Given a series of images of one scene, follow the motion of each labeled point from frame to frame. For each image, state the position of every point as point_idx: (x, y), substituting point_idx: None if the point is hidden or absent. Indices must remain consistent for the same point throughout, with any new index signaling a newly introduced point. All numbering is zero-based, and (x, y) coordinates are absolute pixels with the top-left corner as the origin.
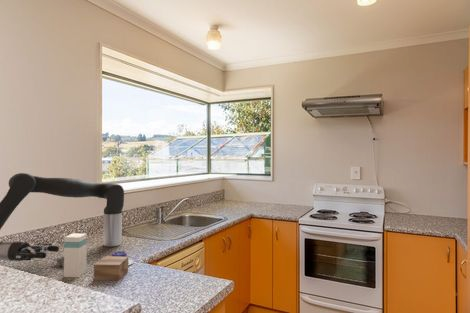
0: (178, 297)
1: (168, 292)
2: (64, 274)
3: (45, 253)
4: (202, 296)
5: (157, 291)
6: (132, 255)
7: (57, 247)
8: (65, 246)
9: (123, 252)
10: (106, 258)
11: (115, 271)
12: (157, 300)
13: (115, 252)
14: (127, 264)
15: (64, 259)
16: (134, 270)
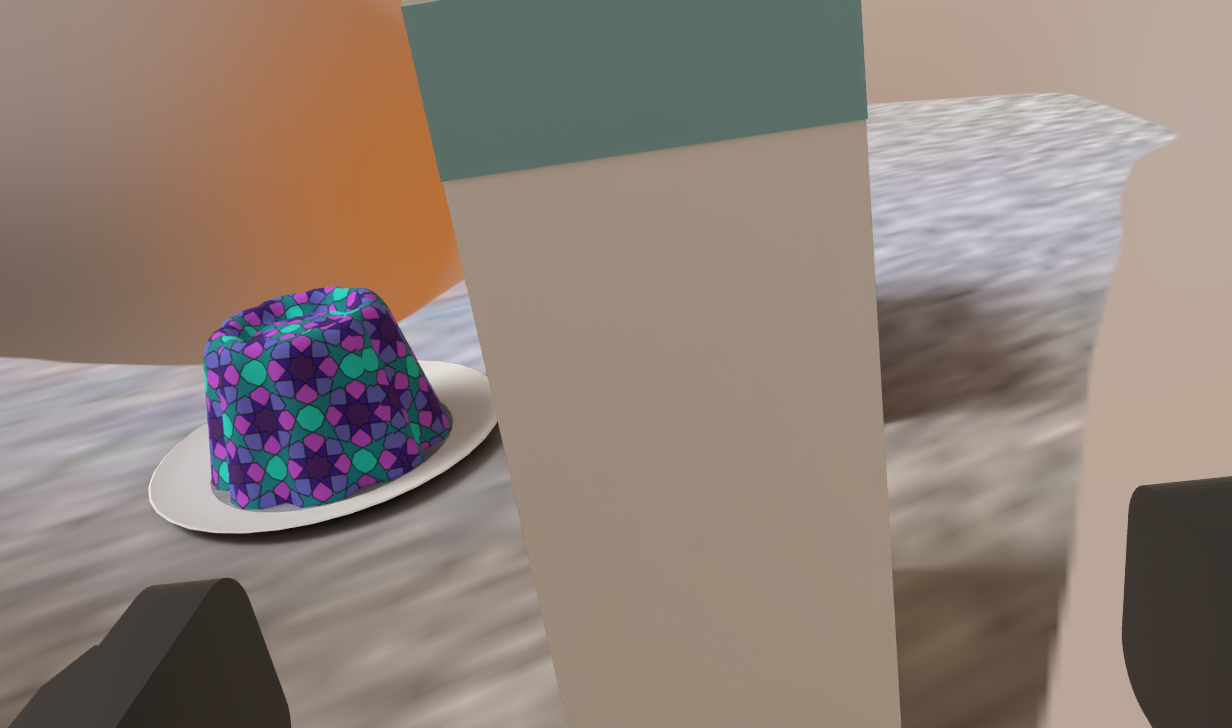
0: (985, 128)
1: (941, 152)
2: (897, 712)
3: (1188, 494)
4: (933, 108)
5: (949, 170)
6: (49, 457)
7: (240, 611)
8: (859, 78)
9: (270, 309)
10: None
11: None
12: (1068, 144)
13: (246, 343)
14: None
15: (879, 422)
16: None
